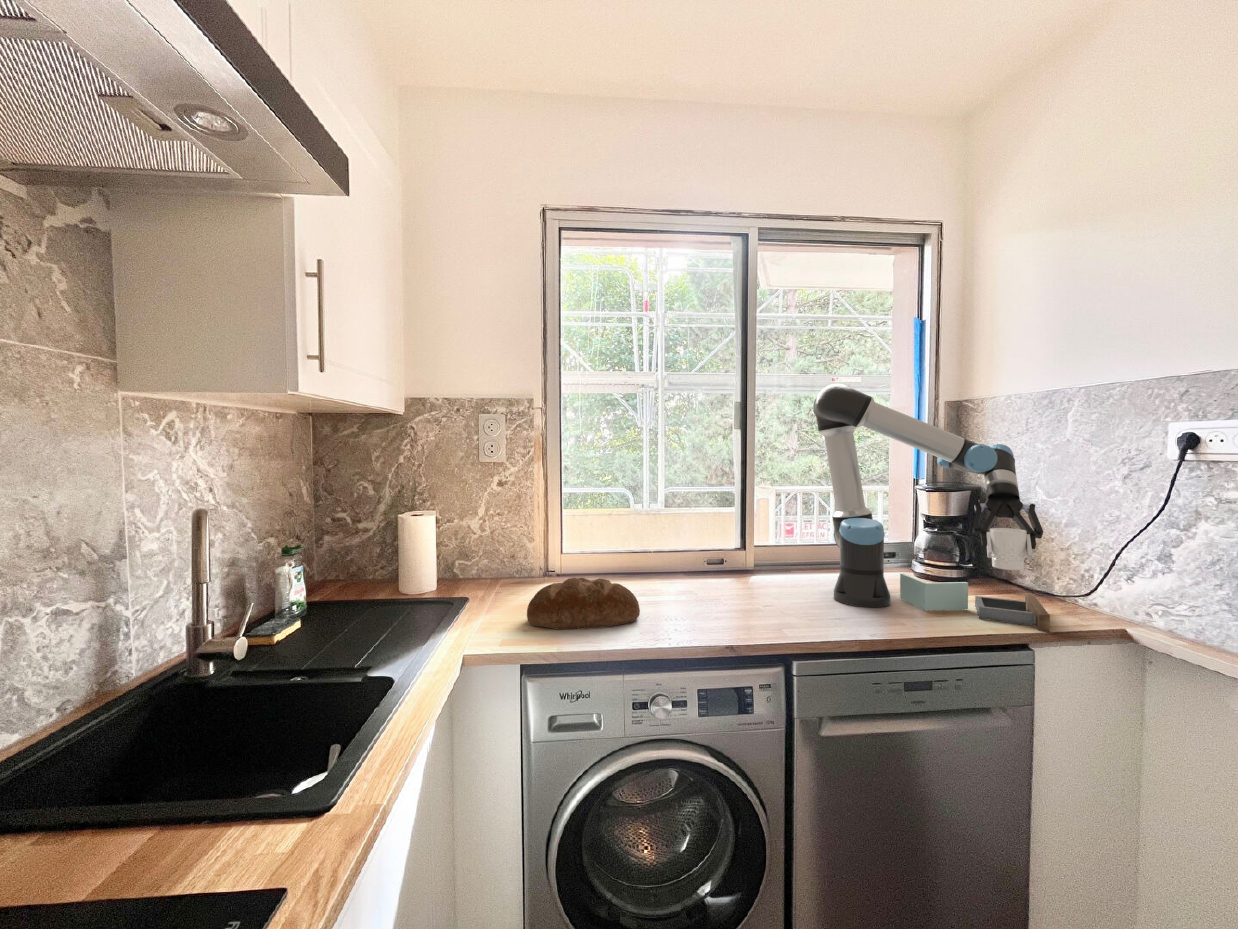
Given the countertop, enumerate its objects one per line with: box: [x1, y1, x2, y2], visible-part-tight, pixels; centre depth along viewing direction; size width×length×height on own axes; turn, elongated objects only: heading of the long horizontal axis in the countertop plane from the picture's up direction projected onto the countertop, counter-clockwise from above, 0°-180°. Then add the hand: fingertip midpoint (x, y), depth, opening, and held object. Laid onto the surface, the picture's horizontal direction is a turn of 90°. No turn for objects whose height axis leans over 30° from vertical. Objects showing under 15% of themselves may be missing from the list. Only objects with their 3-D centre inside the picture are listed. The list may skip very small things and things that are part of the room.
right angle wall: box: [899, 572, 969, 612], centre depth 150 cm, size 12×12×8 cm
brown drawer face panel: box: [1024, 594, 1051, 633], centre depth 135 cm, size 2×20×4 cm, turn 150°
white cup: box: [989, 527, 1027, 571], centre depth 138 cm, size 8×8×10 cm
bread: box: [526, 577, 641, 630], centre depth 137 cm, size 16×29×11 cm, turn 98°
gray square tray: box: [974, 595, 1036, 627], centre depth 139 cm, size 12×12×3 cm
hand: (1009, 556), depth 135 cm, fingers closed on white cup, 8 cm apart
